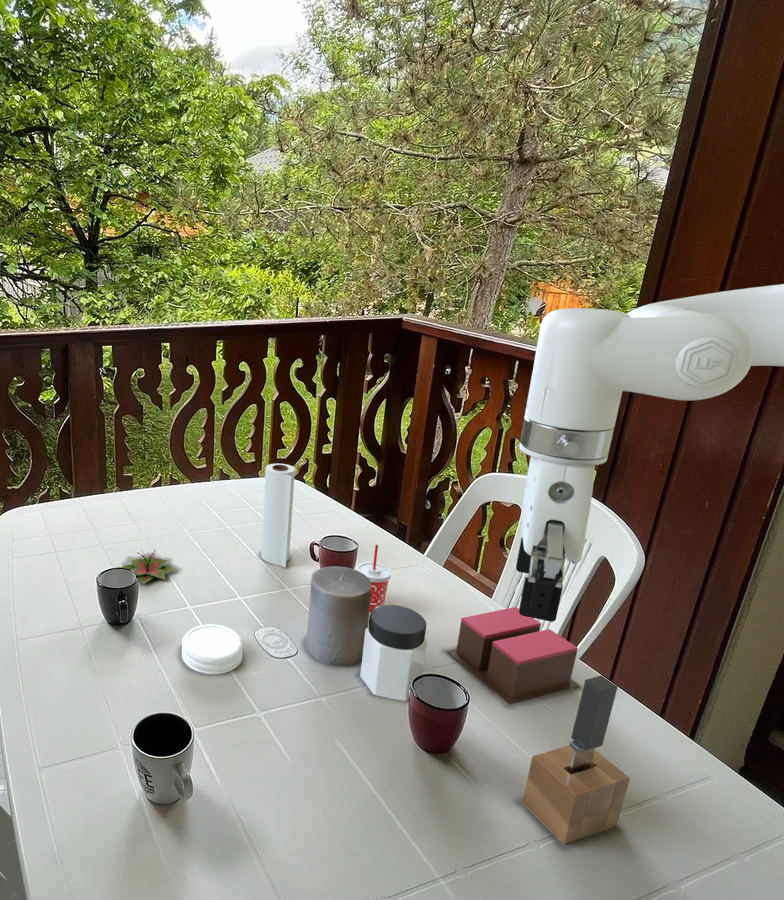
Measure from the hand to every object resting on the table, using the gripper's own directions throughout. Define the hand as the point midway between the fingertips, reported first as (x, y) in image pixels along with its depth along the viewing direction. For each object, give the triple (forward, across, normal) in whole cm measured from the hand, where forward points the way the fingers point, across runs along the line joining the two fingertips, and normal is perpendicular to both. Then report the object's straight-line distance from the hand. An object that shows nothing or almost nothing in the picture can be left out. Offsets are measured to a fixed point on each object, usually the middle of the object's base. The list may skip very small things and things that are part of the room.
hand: (533, 593), depth 67 cm
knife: (+29, +3, -8) cm, 31 cm away
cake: (+30, +31, -3) cm, 43 cm away
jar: (+31, +19, +14) cm, 39 cm away
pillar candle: (+31, +24, +24) cm, 46 cm away
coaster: (+31, +14, +42) cm, 54 cm away
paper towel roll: (+31, +51, +43) cm, 73 cm away
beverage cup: (+31, +39, +21) cm, 54 cm away
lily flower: (+30, +35, +65) cm, 80 cm away
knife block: (+30, +3, -8) cm, 32 cm away
